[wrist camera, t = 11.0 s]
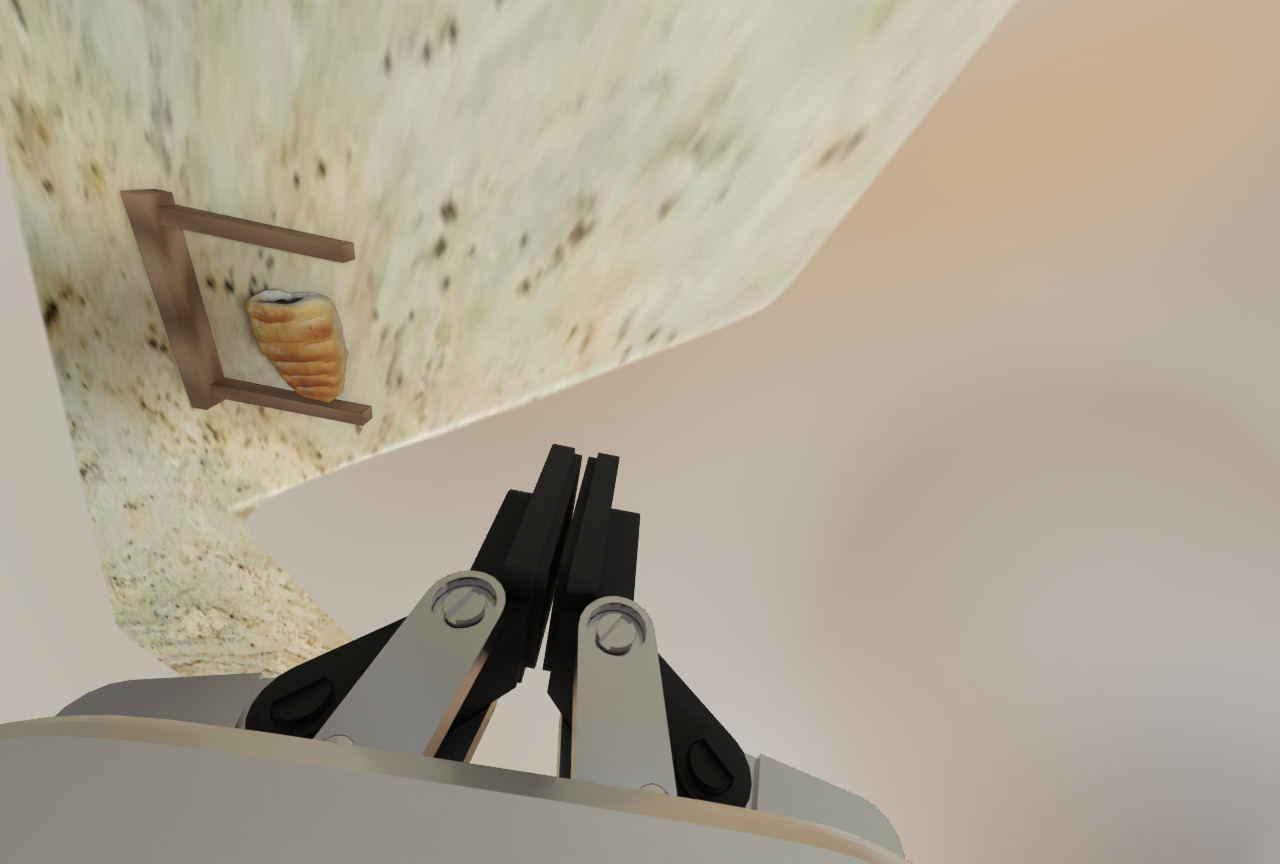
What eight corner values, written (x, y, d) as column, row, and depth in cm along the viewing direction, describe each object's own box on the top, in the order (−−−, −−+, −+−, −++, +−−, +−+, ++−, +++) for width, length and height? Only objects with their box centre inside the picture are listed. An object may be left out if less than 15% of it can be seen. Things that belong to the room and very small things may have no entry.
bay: (154, 189, 34) (119, 190, 32) (352, 231, 35) (331, 236, 33) (216, 394, 42) (191, 407, 40) (373, 425, 43) (357, 439, 41)
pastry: (369, 395, 42) (343, 415, 39) (297, 391, 42) (265, 411, 39) (336, 289, 37) (304, 301, 34) (255, 286, 38) (215, 298, 34)
